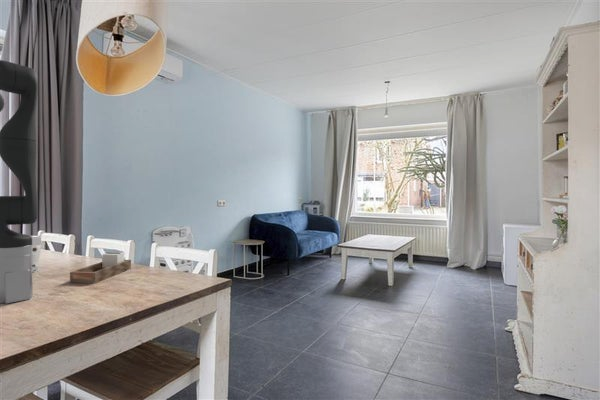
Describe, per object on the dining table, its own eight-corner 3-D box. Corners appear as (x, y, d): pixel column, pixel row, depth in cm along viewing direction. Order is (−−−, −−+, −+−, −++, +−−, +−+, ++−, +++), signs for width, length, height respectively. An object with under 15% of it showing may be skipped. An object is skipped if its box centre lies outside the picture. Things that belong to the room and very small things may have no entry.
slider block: (109, 265, 149) (109, 251, 148) (124, 266, 148) (124, 251, 148) (102, 268, 144) (102, 253, 143) (117, 268, 143) (117, 253, 143)
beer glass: (16, 272, 141) (15, 237, 141) (33, 268, 148) (33, 235, 147) (27, 273, 139) (27, 238, 139) (45, 270, 146) (44, 235, 145)
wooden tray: (109, 268, 151) (109, 259, 151) (130, 268, 151) (130, 259, 151) (70, 282, 127) (69, 272, 127) (95, 283, 127) (95, 272, 127)
